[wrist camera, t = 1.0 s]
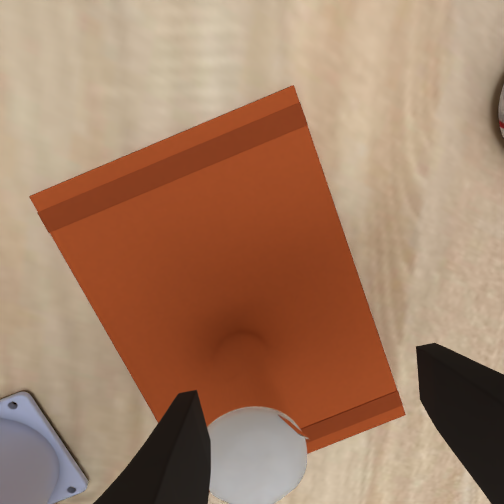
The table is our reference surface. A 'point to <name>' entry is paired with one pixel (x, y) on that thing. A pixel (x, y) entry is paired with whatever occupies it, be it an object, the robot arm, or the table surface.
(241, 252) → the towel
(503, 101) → the soda can
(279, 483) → the milkshake
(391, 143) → the table surface
